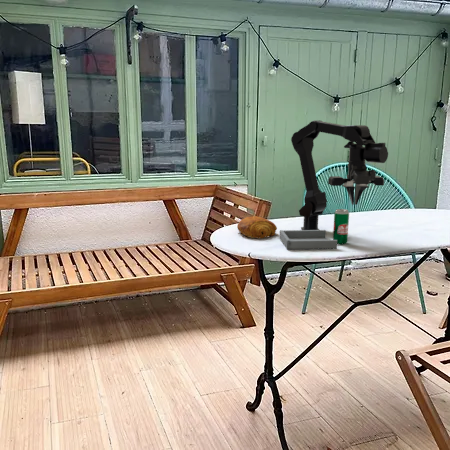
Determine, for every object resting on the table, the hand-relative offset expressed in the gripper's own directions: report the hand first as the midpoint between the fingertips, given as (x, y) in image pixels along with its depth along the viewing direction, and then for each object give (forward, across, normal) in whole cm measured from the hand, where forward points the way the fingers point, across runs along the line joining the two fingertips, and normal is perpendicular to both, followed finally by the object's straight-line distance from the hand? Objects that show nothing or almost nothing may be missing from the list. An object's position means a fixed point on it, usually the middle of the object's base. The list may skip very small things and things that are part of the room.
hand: (354, 204), depth 166 cm
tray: (+13, -18, -5) cm, 23 cm away
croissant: (+13, -34, +10) cm, 38 cm away
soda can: (+13, -6, -5) cm, 15 cm away
